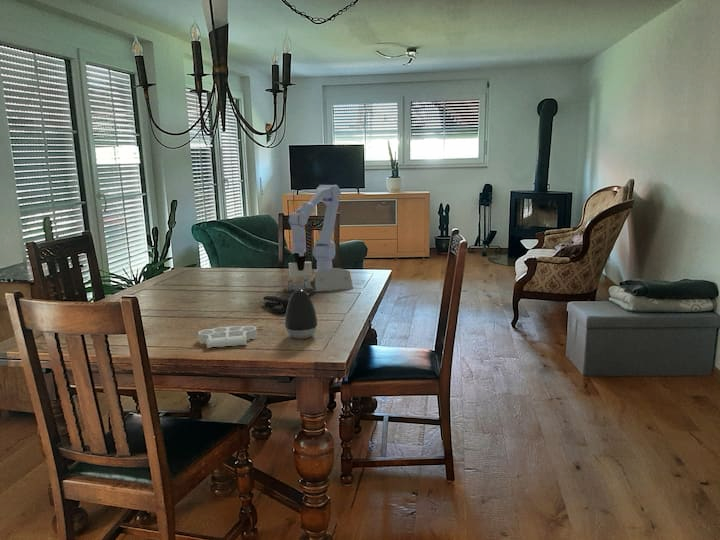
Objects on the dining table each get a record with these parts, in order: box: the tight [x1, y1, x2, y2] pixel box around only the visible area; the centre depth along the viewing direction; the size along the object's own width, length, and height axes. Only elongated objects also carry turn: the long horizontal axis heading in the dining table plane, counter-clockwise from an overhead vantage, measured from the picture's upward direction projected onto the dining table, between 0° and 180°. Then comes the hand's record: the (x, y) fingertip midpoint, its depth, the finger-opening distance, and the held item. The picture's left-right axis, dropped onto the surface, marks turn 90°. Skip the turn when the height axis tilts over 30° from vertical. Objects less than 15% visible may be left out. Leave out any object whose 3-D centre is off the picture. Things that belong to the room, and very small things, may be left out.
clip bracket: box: [285, 278, 314, 294], centre depth 236 cm, size 7×11×4 cm, turn 103°
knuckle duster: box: [197, 325, 258, 349], centre depth 171 cm, size 3×18×15 cm
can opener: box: [262, 295, 290, 314], centre depth 206 cm, size 18×7×6 cm, turn 35°
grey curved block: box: [313, 267, 354, 292], centre depth 238 cm, size 17×5×10 cm, turn 99°
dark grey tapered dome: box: [284, 290, 318, 340], centre depth 172 cm, size 10×10×15 cm
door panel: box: [288, 261, 313, 278], centre depth 244 cm, size 3×10×6 cm, turn 103°
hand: (300, 269), depth 244 cm, fingers closed on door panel, 2 cm apart
